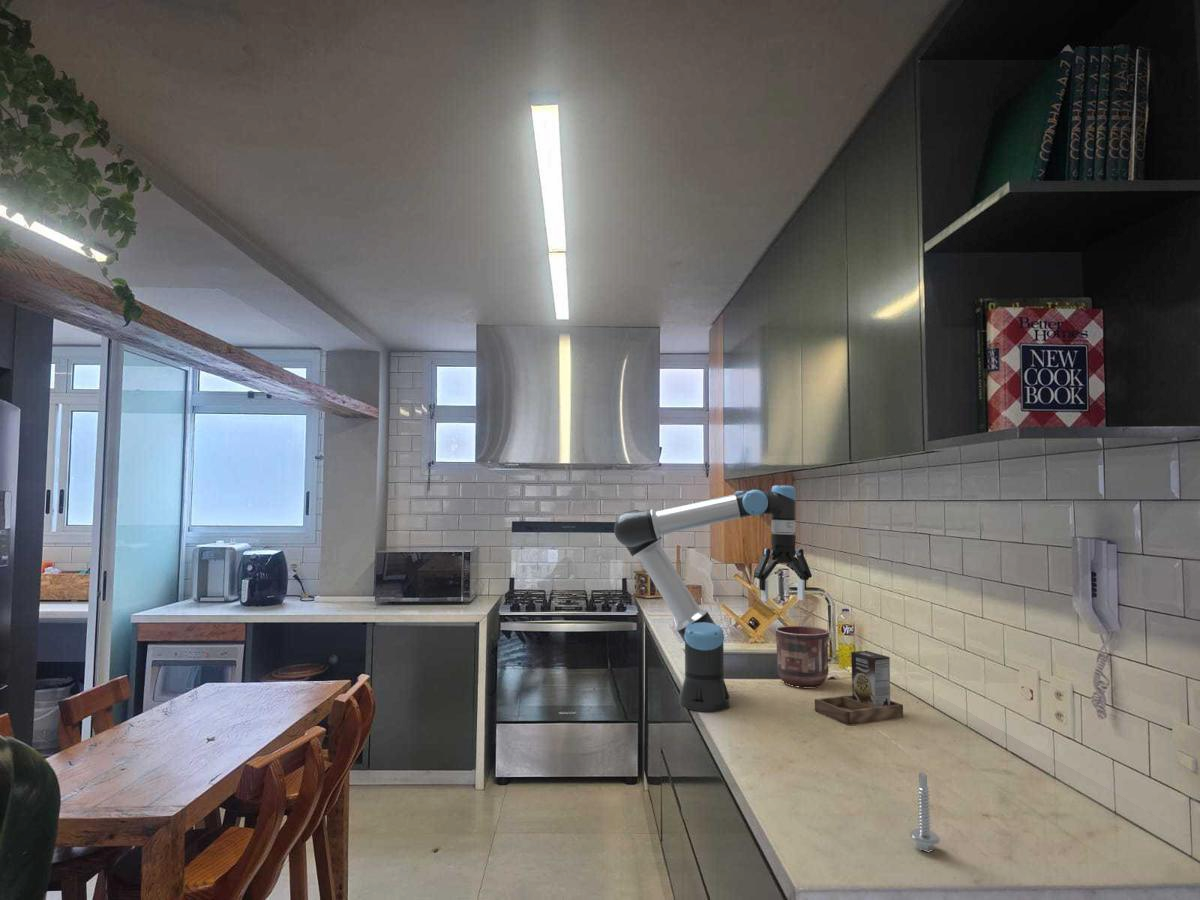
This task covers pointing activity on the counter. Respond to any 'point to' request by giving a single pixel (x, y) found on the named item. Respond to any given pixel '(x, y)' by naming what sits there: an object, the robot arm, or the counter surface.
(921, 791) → the screw
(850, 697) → the walnut crate
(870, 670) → the coffee box
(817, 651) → the pottery
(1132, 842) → the counter surface
